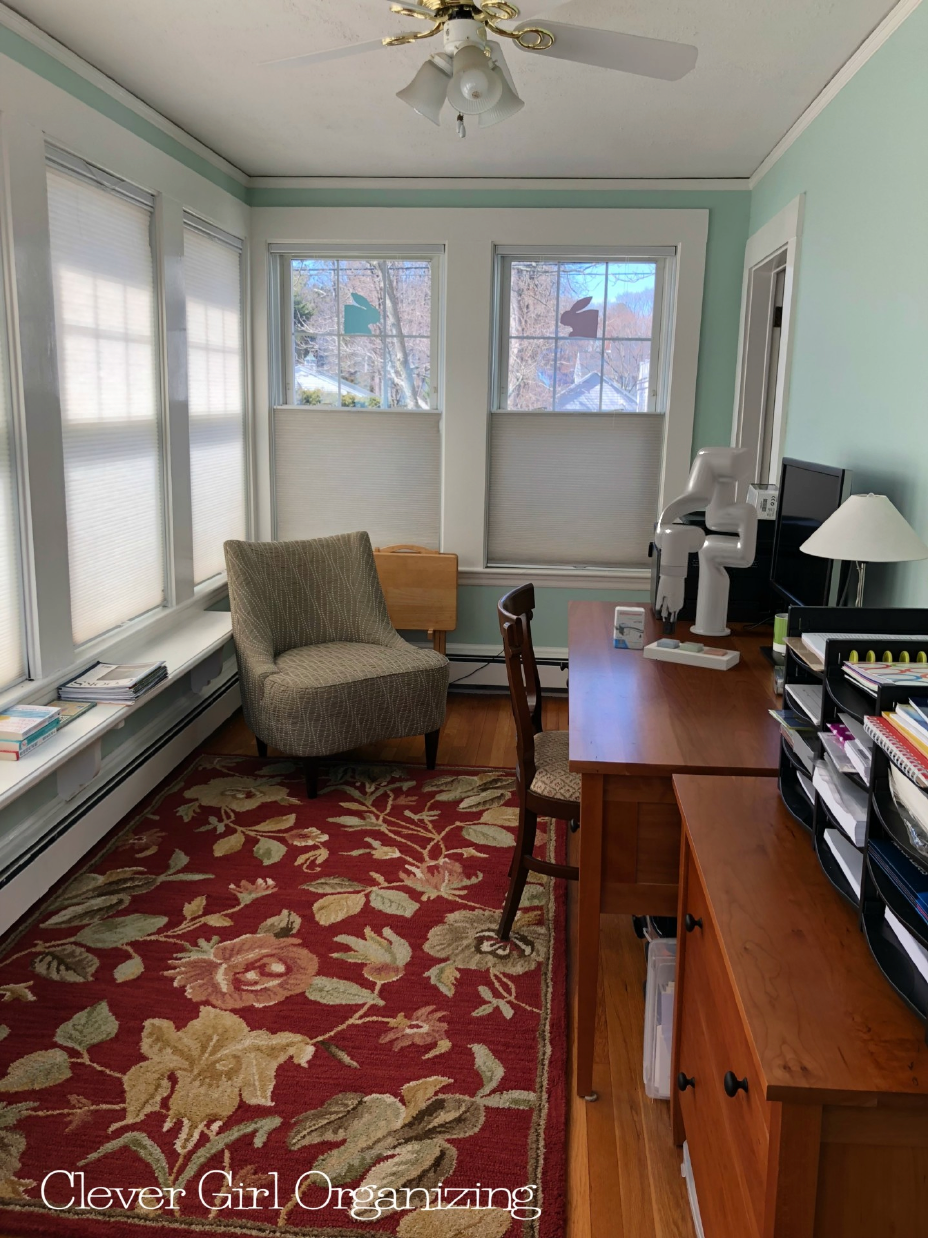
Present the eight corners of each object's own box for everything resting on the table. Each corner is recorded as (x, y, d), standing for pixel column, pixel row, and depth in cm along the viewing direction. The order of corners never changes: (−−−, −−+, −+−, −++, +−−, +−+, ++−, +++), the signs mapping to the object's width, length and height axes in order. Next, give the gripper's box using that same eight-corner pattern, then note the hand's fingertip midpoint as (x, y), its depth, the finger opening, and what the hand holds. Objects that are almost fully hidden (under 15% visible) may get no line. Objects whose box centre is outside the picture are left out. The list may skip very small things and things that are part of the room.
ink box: (613, 648, 289) (616, 609, 287) (612, 644, 294) (615, 606, 292) (643, 649, 288) (645, 610, 286) (641, 645, 293) (644, 607, 291)
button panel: (658, 649, 288) (659, 640, 287) (738, 662, 275) (739, 651, 275) (643, 657, 278) (643, 647, 277) (725, 670, 265) (726, 659, 265)
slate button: (662, 647, 283) (663, 638, 283) (679, 649, 281) (679, 640, 280) (656, 650, 279) (657, 641, 279) (673, 652, 277) (673, 643, 276)
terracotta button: (709, 657, 276) (710, 648, 276) (726, 660, 274) (727, 650, 273) (703, 660, 272) (704, 651, 272) (720, 663, 270) (721, 653, 269)
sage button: (685, 650, 280) (686, 641, 279) (702, 653, 277) (703, 644, 277) (679, 653, 276) (680, 644, 275) (696, 656, 273) (697, 647, 272)
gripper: (670, 567, 284) (665, 629, 287) (651, 572, 271) (646, 636, 275) (694, 570, 280) (690, 632, 283) (676, 575, 267) (671, 640, 271)
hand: (668, 634), depth 279 cm, fingers closed
